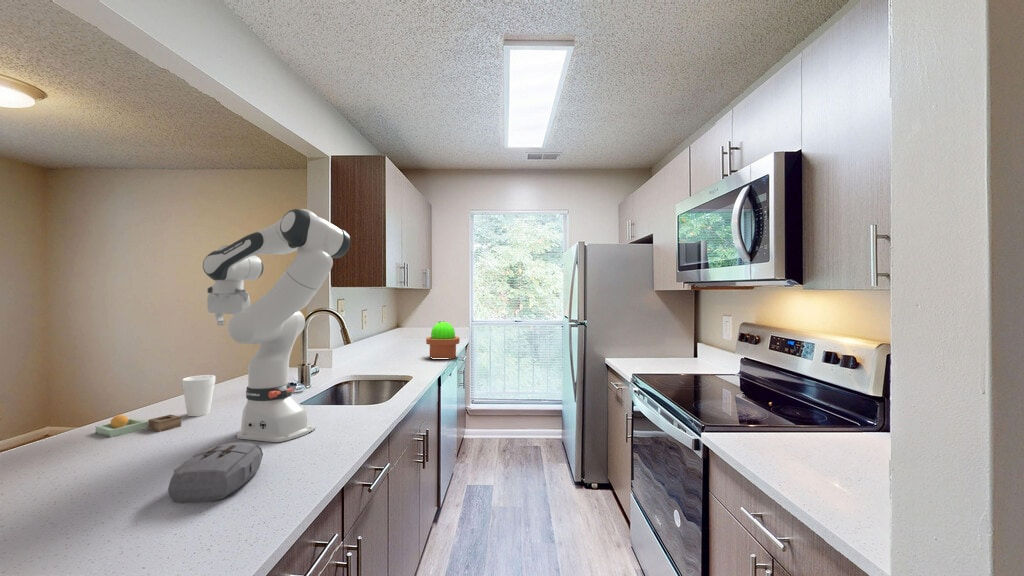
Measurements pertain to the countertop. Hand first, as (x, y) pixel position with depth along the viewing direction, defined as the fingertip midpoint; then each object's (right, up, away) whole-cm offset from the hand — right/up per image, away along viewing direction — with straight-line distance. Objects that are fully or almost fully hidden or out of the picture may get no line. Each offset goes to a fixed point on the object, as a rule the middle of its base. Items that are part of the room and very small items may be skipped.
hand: (228, 325), depth 149 cm
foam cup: (-6, -31, -6) cm, 32 cm away
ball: (-18, -28, -23) cm, 41 cm away
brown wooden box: (-6, -31, -21) cm, 38 cm away
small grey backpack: (+39, -31, -56) cm, 75 cm away
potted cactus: (+60, -33, +118) cm, 137 cm away
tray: (-17, -31, -24) cm, 42 cm away
